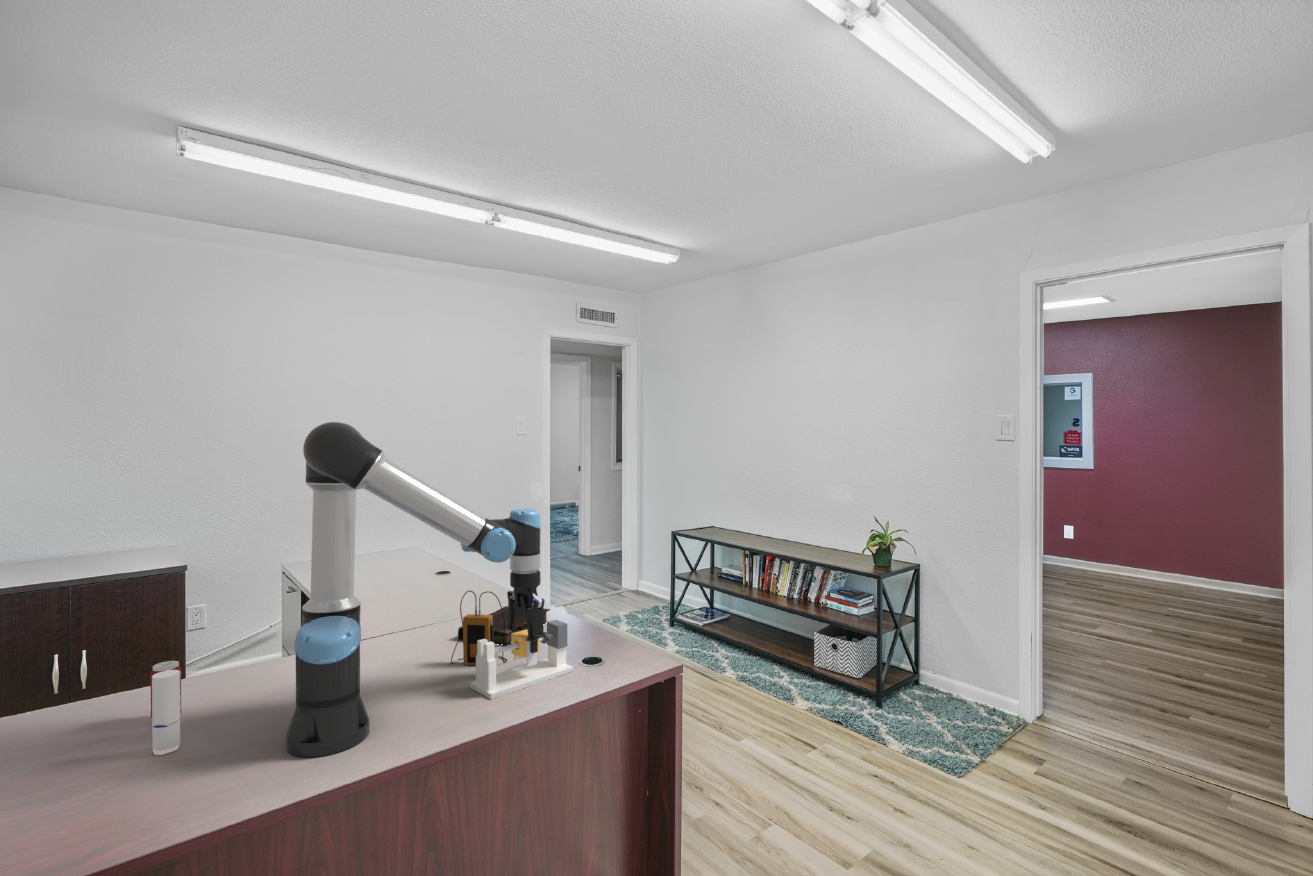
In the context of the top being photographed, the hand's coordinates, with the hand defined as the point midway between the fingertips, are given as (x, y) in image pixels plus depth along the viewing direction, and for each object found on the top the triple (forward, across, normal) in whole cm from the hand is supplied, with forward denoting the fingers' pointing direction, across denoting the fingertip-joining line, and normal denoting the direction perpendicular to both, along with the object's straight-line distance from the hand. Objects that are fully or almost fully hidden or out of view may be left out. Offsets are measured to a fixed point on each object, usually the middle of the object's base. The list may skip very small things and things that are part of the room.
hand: (525, 661), depth 157 cm
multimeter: (+5, +20, +1) cm, 21 cm away
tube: (+5, +20, +70) cm, 73 cm away
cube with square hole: (-2, 0, 0) cm, 2 cm away
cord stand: (+4, 0, +1) cm, 4 cm away
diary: (+5, +37, -17) cm, 41 cm away
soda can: (+5, +37, +68) cm, 77 cm away
